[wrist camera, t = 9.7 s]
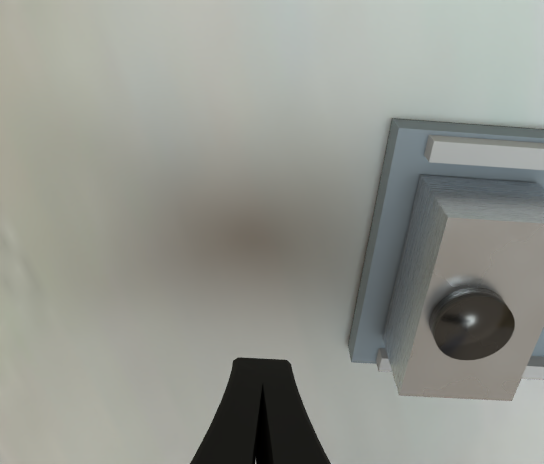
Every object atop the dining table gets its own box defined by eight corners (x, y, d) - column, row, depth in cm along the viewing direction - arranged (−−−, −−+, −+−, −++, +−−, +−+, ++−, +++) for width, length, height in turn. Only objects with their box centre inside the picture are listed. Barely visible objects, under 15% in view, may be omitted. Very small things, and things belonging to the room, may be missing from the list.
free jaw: (480, 342, 21) (518, 414, 17) (382, 337, 20) (402, 408, 17) (538, 182, 17) (598, 236, 14) (420, 175, 17) (454, 227, 14)
